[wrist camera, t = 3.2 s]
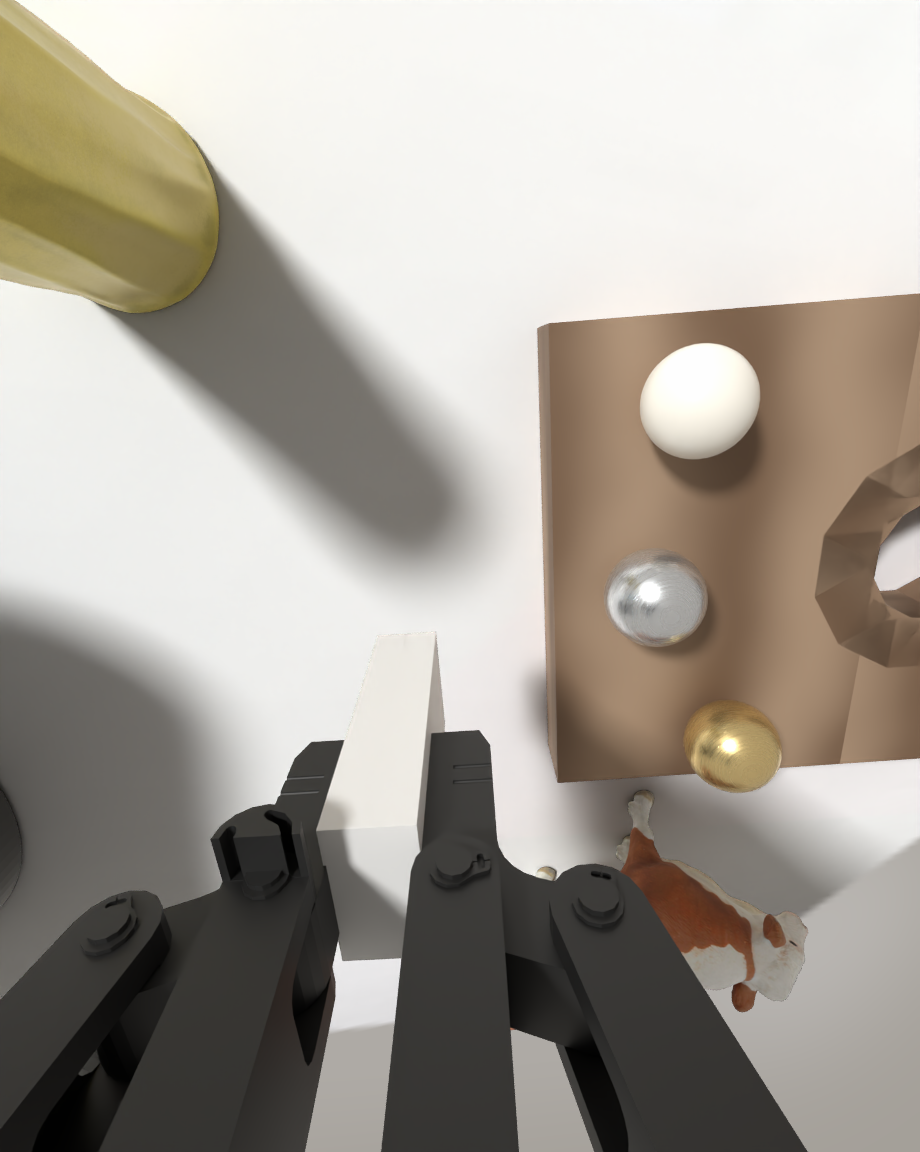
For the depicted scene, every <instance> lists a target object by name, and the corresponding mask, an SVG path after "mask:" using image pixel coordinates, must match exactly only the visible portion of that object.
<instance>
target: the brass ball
mask: <svg viewBox="0 0 920 1152" xmlns="http://www.w3.org/2000/svg"><path fill="white" fill-rule="evenodd" d="M683 742H684V750H685V754H686V757H687V760H688V762H689V764H690V765H691V767H692V768H693V770H694V771H695V772H696V774H697V775H698V776H699V777H700V778H702V779H703V780H704V781H705V782H707V783H708V784H710V785H711V786H713V787H715V788H717V789H720V790H723V791H727V792H732V793H745V792H750V791H754V790H757V789H759V788H761V787H763V786H764V785H766V784H767V783H768V782H769V781H770V780H771V779H772V778H773V777H774V776H775V774H776V772H777V771H778V769H779V766H780V763H781V758H782V745H781V741H780V737H779V735H778V732H777V730H776V728H775V727H774V725H773V724H772V722H771V721H770V720H769V719H768V718H767V717H766V716H765V715H764V714H763V713H762V712H760V711H759V710H758V709H756V708H755V707H753V706H751V705H748V704H746V703H743V702H739V701H735V700H719V701H714V702H711V703H708V704H706V705H704V706H703V707H701V708H700V709H698V710H697V711H696V712H695V713H694V714H693V715H692V716H691V718H690V719H689V721H688V723H687V725H686V728H685V731H684V738H683Z"/></svg>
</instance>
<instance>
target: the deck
mask: <svg viewBox="0 0 920 1152" xmlns="http://www.w3.org/2000/svg"><path fill="white" fill-rule="evenodd" d="M537 334H538V373H539V411H540V449H541V488H542V526H543V564H544V603H545V641H546V679H547V717H548V746H549V750H550V754H551V758H552V762H553V766H554V770H555V774H556V778H557V782H558V783H563V782H578V781H593V780H608V779H622V778H637V777H652V776H667V775H681V774H696V772H695V771H694V770H693V768H692V767H691V765H690V764H689V762H688V760H687V757H686V754H685V750H684V742H683V738H684V731H685V728H686V725H687V723H688V721H689V719H690V718H691V716H692V715H693V714H694V713H695V712H696V711H697V710H698V709H700V708H701V707H703V706H704V705H706V704H708V703H711V702H714V701H719V700H735V701H739V702H743V703H746V704H748V705H751V706H753V707H755V708H756V709H758V710H759V711H760V712H762V713H763V714H764V715H765V716H766V717H767V718H768V719H769V720H770V721H771V722H772V724H773V725H774V727H775V728H776V730H777V732H778V735H779V737H780V741H781V745H782V758H781V763H780V766H779V768H784V767H799V766H814V765H829V764H843V763H858V762H873V761H887V760H902V759H917V758H920V577H919V578H917V579H916V580H914V581H912V582H910V583H908V584H906V585H905V586H903V587H901V588H899V589H897V590H892V591H879V589H878V587H877V585H876V582H875V580H874V576H875V570H876V565H877V559H878V554H879V549H880V545H881V544H882V543H883V542H884V540H885V539H886V538H887V536H888V535H889V534H890V532H891V531H892V530H893V528H894V527H895V526H896V524H897V523H898V522H899V520H900V519H901V518H902V517H903V515H905V514H907V513H908V512H910V511H912V510H914V509H916V508H917V507H919V506H920V294H908V295H896V296H883V297H871V298H858V299H846V300H833V301H821V302H809V303H796V304H784V305H771V306H759V307H746V308H734V309H722V310H709V311H697V312H684V313H672V314H660V315H647V316H635V317H622V318H610V319H597V320H585V321H573V322H560V323H549V324H546V325H544V326H541V327H539V328H537ZM700 343H713V344H720V345H723V346H727V347H729V348H731V349H733V350H735V351H737V352H738V353H740V354H741V355H742V356H743V357H744V358H745V359H747V361H748V362H749V363H750V365H751V366H752V367H753V369H754V371H755V373H756V375H757V378H758V381H759V386H760V403H759V409H758V412H757V415H756V418H755V420H754V422H753V424H752V426H751V427H750V429H749V430H748V432H747V433H746V434H745V435H744V436H743V438H742V439H741V440H740V441H739V442H737V443H736V444H735V445H734V446H732V447H731V448H730V449H728V450H726V451H724V452H722V453H720V454H718V455H715V456H712V457H709V458H703V459H683V458H679V457H675V456H672V455H670V454H668V453H666V452H664V451H663V450H661V449H660V448H659V447H657V446H656V445H655V444H654V443H653V442H652V441H651V439H650V438H649V436H648V435H647V433H646V432H645V429H644V427H643V425H642V421H641V416H640V399H641V394H642V390H643V387H644V385H645V383H646V380H647V378H648V377H649V375H650V374H651V372H652V371H653V369H654V368H655V367H656V366H657V365H658V364H659V363H660V362H661V361H662V360H663V359H664V358H666V357H667V356H668V355H670V354H671V353H673V352H675V351H676V350H679V349H681V348H683V347H686V346H690V345H693V344H700ZM649 548H661V549H667V550H671V551H674V552H677V553H679V554H681V555H682V556H684V557H686V558H687V559H689V560H690V561H691V562H692V563H693V564H694V565H695V566H696V567H697V568H698V570H699V571H700V573H701V574H702V576H703V578H704V580H705V583H706V586H707V592H708V604H707V610H706V613H705V616H704V618H703V620H702V622H701V624H700V625H699V626H698V628H697V629H696V630H695V631H694V632H693V633H692V634H691V635H690V636H688V637H687V638H685V639H684V640H682V641H680V642H678V643H676V644H673V645H669V646H664V647H649V646H644V645H640V644H637V643H635V642H632V641H630V640H629V639H627V638H626V637H624V636H623V635H622V634H620V633H619V632H618V631H617V630H616V628H615V627H614V626H613V625H612V623H611V622H610V620H609V618H608V616H607V613H606V610H605V606H604V588H605V584H606V581H607V578H608V576H609V574H610V572H611V571H612V570H613V568H614V567H615V566H616V565H617V564H618V563H619V562H620V561H621V560H622V559H623V558H625V557H626V556H628V555H630V554H632V553H634V552H636V551H639V550H643V549H649Z"/></svg>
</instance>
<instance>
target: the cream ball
mask: <svg viewBox="0 0 920 1152" xmlns="http://www.w3.org/2000/svg"><path fill="white" fill-rule="evenodd" d="M759 403H760V386H759V381H758V378H757V375H756V373H755V371H754V369H753V367H752V366H751V365H750V363H749V362H748V361H747V359H745V358H744V357H743V356H742V355H741V354H740V353H738V352H737V351H735V350H733V349H731V348H729V347H727V346H723V345H720V344H713V343H700V344H693V345H690V346H686V347H683V348H681V349H679V350H676V351H675V352H673V353H671V354H670V355H668V356H667V357H666V358H664V359H663V360H662V361H661V362H660V363H659V364H658V365H657V366H656V367H655V368H654V369H653V371H652V372H651V374H650V375H649V377H648V378H647V380H646V383H645V385H644V387H643V390H642V394H641V399H640V416H641V421H642V425H643V427H644V429H645V432H646V433H647V435H648V436H649V438H650V439H651V441H652V442H653V443H654V444H655V445H656V446H657V447H659V448H660V449H661V450H663V451H664V452H666V453H668V454H670V455H672V456H675V457H679V458H683V459H703V458H709V457H712V456H715V455H718V454H720V453H722V452H724V451H726V450H728V449H730V448H731V447H732V446H734V445H735V444H736V443H737V442H739V441H740V440H741V439H742V438H743V436H744V435H745V434H746V433H747V432H748V430H749V429H750V427H751V426H752V424H753V422H754V420H755V418H756V415H757V412H758V409H759Z"/></svg>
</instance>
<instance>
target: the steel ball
mask: <svg viewBox="0 0 920 1152" xmlns="http://www.w3.org/2000/svg"><path fill="white" fill-rule="evenodd" d="M707 604H708V592H707V586H706V583H705V580H704V578H703V576H702V574H701V573H700V571H699V570H698V568H697V567H696V566H695V565H694V564H693V563H692V562H691V561H690V560H689V559H687V558H686V557H684V556H682V555H681V554H679V553H677V552H674V551H671V550H667V549H661V548H649V549H643V550H639V551H636V552H634V553H632V554H630V555H628V556H626V557H625V558H623V559H622V560H621V561H620V562H619V563H618V564H617V565H616V566H615V567H614V568H613V570H612V571H611V572H610V574H609V576H608V578H607V581H606V584H605V588H604V606H605V610H606V613H607V616H608V618H609V620H610V622H611V623H612V625H613V626H614V627H615V628H616V630H617V631H618V632H619V633H620V634H622V635H623V636H624V637H626V638H627V639H629V640H630V641H632V642H635V643H637V644H640V645H644V646H649V647H664V646H669V645H673V644H676V643H678V642H680V641H682V640H684V639H685V638H687V637H688V636H690V635H691V634H692V633H693V632H694V631H695V630H696V629H697V628H698V626H699V625H700V624H701V622H702V620H703V618H704V616H705V613H706V610H707Z"/></svg>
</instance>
